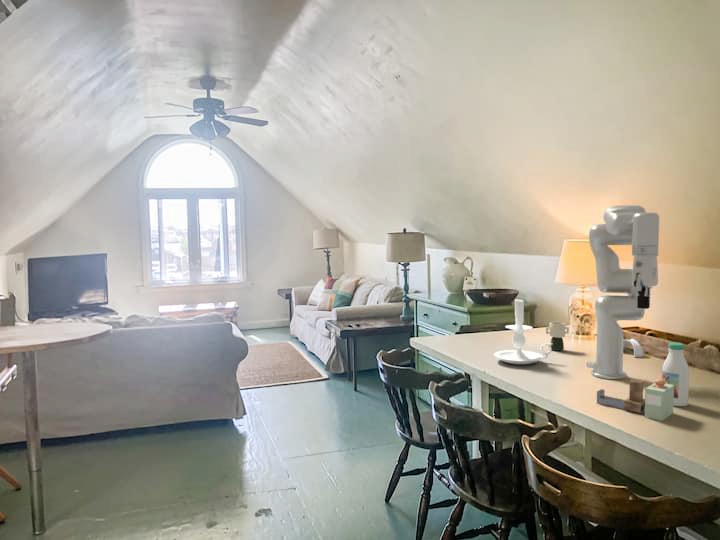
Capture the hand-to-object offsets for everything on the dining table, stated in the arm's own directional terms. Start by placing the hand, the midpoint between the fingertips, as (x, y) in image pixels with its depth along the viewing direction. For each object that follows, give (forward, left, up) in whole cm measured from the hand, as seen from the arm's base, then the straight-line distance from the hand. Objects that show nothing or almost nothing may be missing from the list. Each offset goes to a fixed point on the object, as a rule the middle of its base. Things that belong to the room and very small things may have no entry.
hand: (643, 308), depth 178 cm
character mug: (-58, +59, -32) cm, 89 cm away
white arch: (-34, +77, -33) cm, 91 cm away
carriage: (+1, -6, -32) cm, 33 cm away
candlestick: (-57, +26, -32) cm, 71 cm away
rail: (-2, -6, -32) cm, 33 cm away
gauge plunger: (+8, -6, -28) cm, 30 cm away
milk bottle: (+7, +10, -32) cm, 35 cm away
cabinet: (+8, -6, -32) cm, 34 cm away
